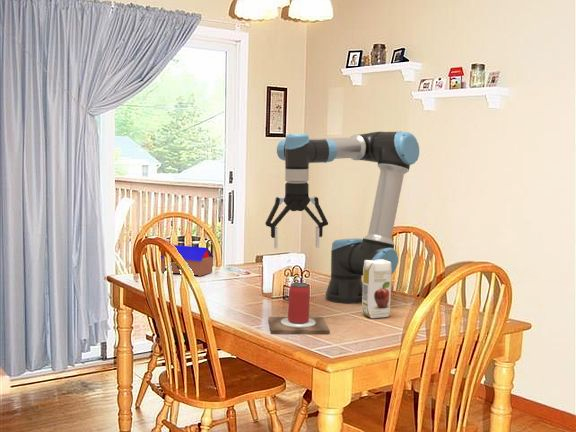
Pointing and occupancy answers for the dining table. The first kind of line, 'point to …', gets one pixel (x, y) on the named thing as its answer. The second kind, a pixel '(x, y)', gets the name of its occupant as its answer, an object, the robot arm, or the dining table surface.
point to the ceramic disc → (293, 325)
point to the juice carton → (376, 288)
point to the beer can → (298, 303)
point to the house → (193, 259)
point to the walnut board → (280, 329)
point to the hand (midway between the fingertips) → (296, 247)
